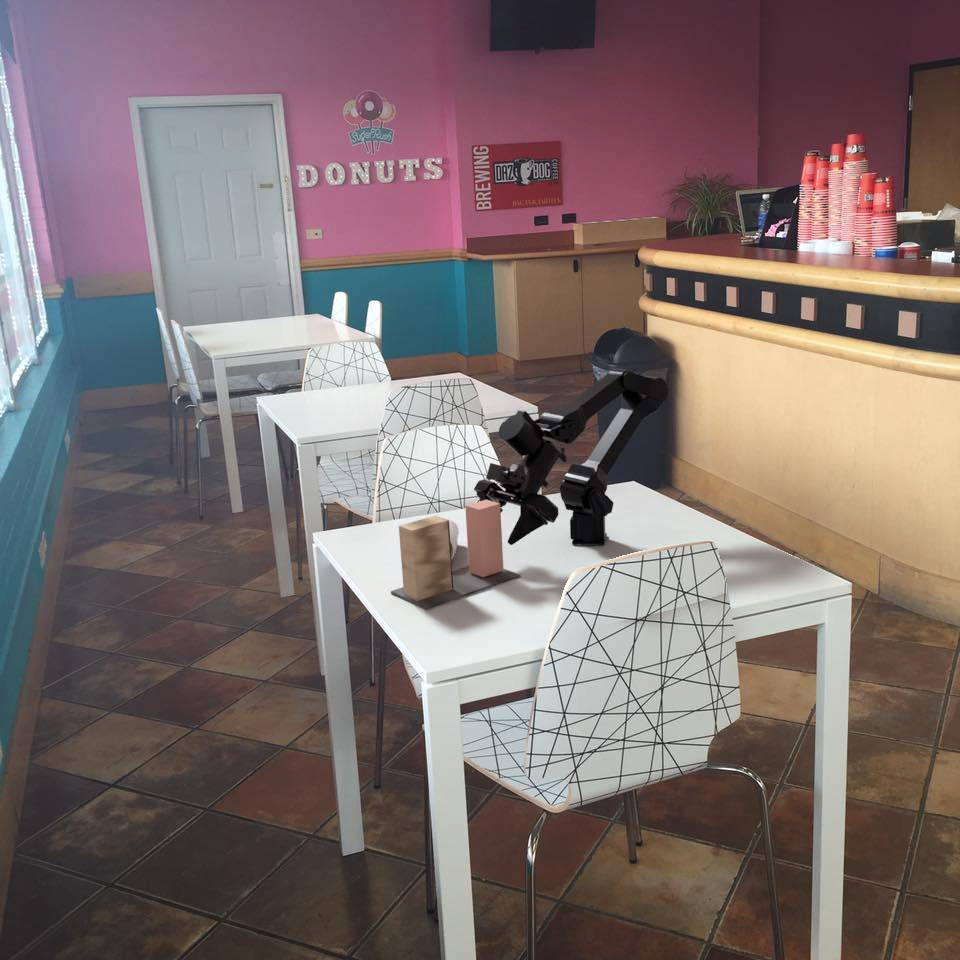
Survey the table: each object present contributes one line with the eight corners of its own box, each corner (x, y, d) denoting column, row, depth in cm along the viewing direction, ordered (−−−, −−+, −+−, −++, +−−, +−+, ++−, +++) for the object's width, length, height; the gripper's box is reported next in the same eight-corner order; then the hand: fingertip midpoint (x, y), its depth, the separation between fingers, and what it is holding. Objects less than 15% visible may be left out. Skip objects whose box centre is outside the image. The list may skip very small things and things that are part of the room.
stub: (489, 565, 196) (486, 499, 192) (503, 570, 193) (500, 503, 189) (469, 572, 193) (465, 505, 189) (482, 577, 190) (478, 509, 186)
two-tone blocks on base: (483, 563, 199) (479, 496, 196) (520, 577, 191) (517, 507, 187) (390, 593, 186) (385, 522, 183) (426, 609, 178) (421, 535, 174)
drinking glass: (460, 513, 210) (452, 531, 196) (464, 545, 212) (457, 565, 197) (427, 517, 211) (417, 535, 196) (432, 548, 212) (422, 569, 198)
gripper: (478, 438, 198) (436, 507, 194) (543, 453, 184) (500, 527, 180) (511, 469, 205) (472, 536, 201) (577, 485, 191) (536, 557, 187)
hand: (493, 538), depth 192 cm, fingers open, 9 cm apart
